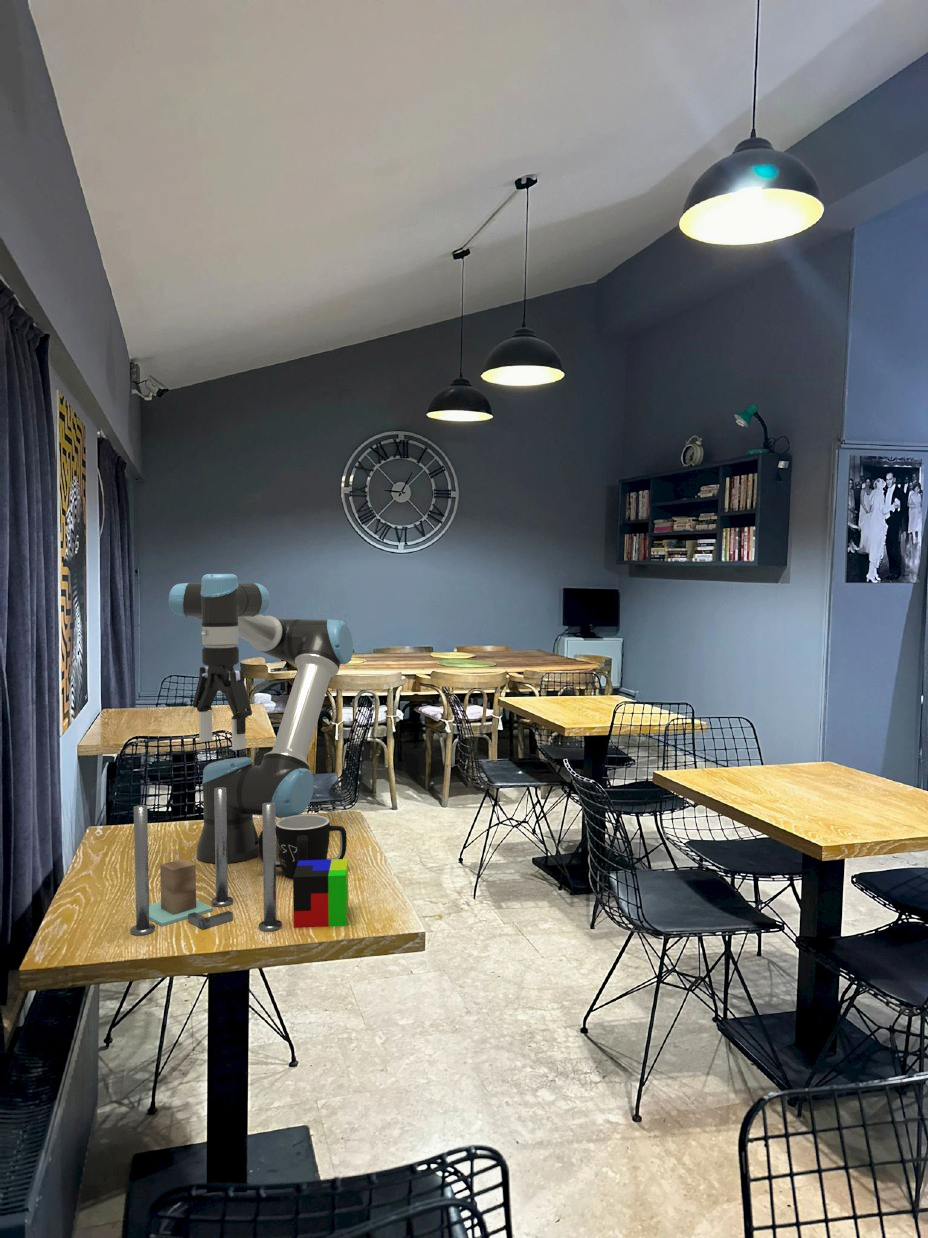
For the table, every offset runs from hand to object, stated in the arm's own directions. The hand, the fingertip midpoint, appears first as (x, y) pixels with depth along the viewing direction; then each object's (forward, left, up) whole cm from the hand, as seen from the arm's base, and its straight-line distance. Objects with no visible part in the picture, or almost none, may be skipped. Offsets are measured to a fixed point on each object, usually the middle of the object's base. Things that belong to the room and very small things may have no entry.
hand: (222, 745), depth 186 cm
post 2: (+6, -4, -32) cm, 33 cm away
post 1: (+8, -22, -32) cm, 39 cm away
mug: (+3, +19, -32) cm, 37 cm away
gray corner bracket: (+13, -11, -32) cm, 36 cm away
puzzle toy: (+27, +6, -32) cm, 42 cm away
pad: (+3, -13, -32) cm, 34 cm away
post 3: (+24, -4, -32) cm, 40 cm away
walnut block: (+4, -12, -31) cm, 34 cm away
